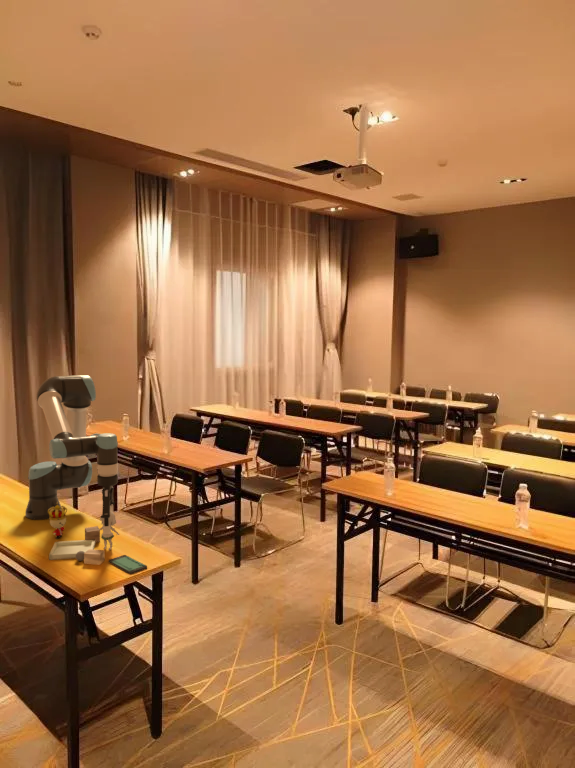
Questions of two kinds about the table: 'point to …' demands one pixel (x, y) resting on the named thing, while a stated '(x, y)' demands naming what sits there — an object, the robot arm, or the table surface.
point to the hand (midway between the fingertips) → (108, 527)
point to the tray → (70, 548)
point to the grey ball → (80, 556)
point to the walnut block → (92, 534)
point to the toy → (57, 519)
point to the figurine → (110, 536)
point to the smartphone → (127, 564)
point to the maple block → (94, 556)
